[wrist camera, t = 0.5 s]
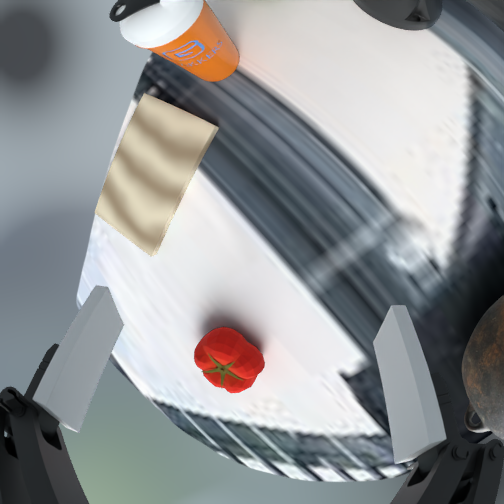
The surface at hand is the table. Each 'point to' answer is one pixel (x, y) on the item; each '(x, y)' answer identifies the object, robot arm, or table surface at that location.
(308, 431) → the table surface
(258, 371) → the tomato
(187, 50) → the shaker bottle
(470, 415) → the jug
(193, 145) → the oak board
